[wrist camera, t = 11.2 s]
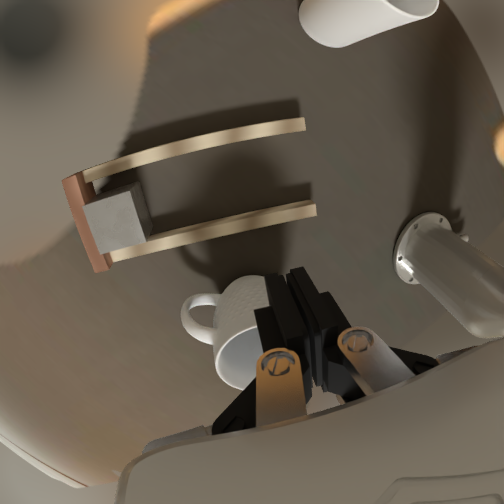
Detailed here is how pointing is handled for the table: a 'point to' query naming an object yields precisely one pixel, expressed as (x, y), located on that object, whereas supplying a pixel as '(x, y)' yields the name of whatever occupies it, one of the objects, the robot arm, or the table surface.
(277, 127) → the u-shaped frame
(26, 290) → the table surface
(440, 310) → the table surface
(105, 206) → the block
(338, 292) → the table surface
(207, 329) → the mug
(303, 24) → the cup
